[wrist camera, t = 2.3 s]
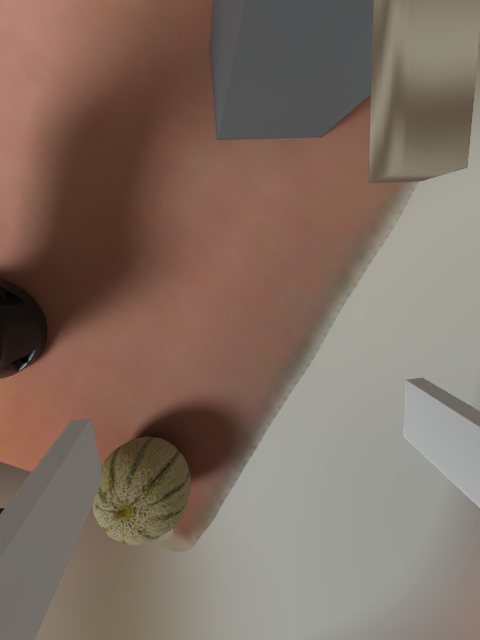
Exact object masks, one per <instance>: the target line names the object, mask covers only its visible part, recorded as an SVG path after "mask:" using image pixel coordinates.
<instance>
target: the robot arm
mask: <svg viewBox="0 0 480 640" xmlns="http://www.w3.org/2000/svg"><path fill="white" fill-rule="evenodd" d="M46 338H47V325H46V320H45V317H44V315H43V312H42V310H41V308H40V307H39V305H38V304H37V302H36V301H35V300H34V299H33V298H32V297H31V296H30V295H29V294H28V293H27V292H26V291H24V290H23V289H21V288H20V287H18V286H16V285H15V284H12V283H10V282H8V281H5V280H1V279H0V379H1V378H5V377H9V376H12V375H14V374H16V373H18V372H20V371H22V370H23V369H25V368H26V367H27V366H29V365H30V364H32V363H33V362H34V361H35V360H36V359H37V358H38V357H39V355H40V354H41V352H42V350H43V348H44V346H45V343H46ZM403 436H404V438H405V439H406V440H407V441H408V442H410V443H411V444H412V445H413V446H414V447H415V448H416V449H417V450H418V451H419V452H420V453H421V454H423V455H424V456H425V457H426V458H427V459H428V460H429V461H430V462H431V463H432V464H433V465H434V466H436V467H437V468H438V469H439V470H440V471H441V472H442V473H443V474H444V475H445V476H446V477H447V478H448V479H449V480H451V482H453V483H454V484H455V485H456V486H457V487H458V488H459V489H460V490H461V491H462V492H463V493H464V494H465V495H467V496H468V497H469V498H470V499H471V500H472V501H473V502H474V503H475V504H476V505H477V506H478V507H479V508H480V411H478V410H477V409H475V408H473V407H472V406H470V405H468V404H466V403H465V402H463V401H461V400H460V399H458V398H456V397H454V396H453V395H451V394H449V393H448V392H446V391H444V390H442V389H441V388H439V387H437V386H436V385H434V384H432V383H430V382H429V381H427V380H425V379H424V378H417V379H409V380H406V388H405V410H404V431H403ZM102 481H103V476H102V471H101V466H100V461H99V456H98V451H97V446H96V440H95V435H94V430H93V425H92V420H91V419H84V420H76V421H71V422H70V423H69V424H68V426H67V427H66V428H65V429H64V431H63V432H62V433H61V435H60V436H59V437H58V439H57V440H56V441H55V443H54V444H53V445H52V447H51V448H50V449H49V451H48V452H47V453H46V455H45V456H44V457H43V458H42V460H41V461H40V462H39V464H38V465H37V466H36V468H35V469H34V470H33V472H32V473H31V474H30V476H29V477H28V478H27V480H26V481H25V482H24V484H23V485H22V486H21V488H20V489H19V490H18V492H17V493H16V494H15V495H14V497H13V498H12V500H11V501H10V502H9V503H8V505H7V506H6V507H5V508H1V509H0V640H34V639H35V637H36V635H37V633H38V630H39V628H40V626H41V623H42V621H43V619H44V616H45V614H46V612H47V609H48V607H49V605H50V602H51V600H52V598H53V595H54V593H55V591H56V588H57V586H58V584H59V581H60V579H61V577H62V574H63V572H64V569H65V567H66V565H67V563H68V560H69V558H70V555H71V553H72V551H73V548H74V546H75V544H76V541H77V539H78V537H79V534H80V532H81V530H82V527H83V525H84V523H85V520H86V518H87V515H88V513H89V511H90V509H91V506H92V504H93V502H94V499H95V497H96V495H97V492H98V490H99V488H100V485H101V483H102Z"/></svg>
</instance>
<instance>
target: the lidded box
mask: <svg viewBox="0 0 480 640" xmlns="http://www.w3.org/2000/svg"><path fill="white" fill-rule="evenodd" d="M373 11H374V0H213V13H212V27H211V40H210V49H211V62H212V76H213V90H214V104H215V118H216V131H217V140H231V139H269V138H307V137H322V136H323V135H324V134H326V133H327V132H328V131H329V130H330V129H331V128H332V127H334V126H335V125H336V124H337V123H338V122H339V121H340V120H342V119H343V118H344V117H345V116H346V115H347V114H348V113H350V112H351V111H352V110H353V109H354V108H355V107H356V106H358V105H359V104H360V103H361V102H362V101H363V100H365V99H366V98H367V97H368V96H369V95H370V94H371V83H372V47H373Z"/></svg>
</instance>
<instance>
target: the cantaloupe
mask: <svg viewBox="0 0 480 640" xmlns="http://www.w3.org/2000/svg"><path fill="white" fill-rule="evenodd" d="M101 471H102V476H103V481H102V483H101V485H100V488H99V490H98V492H97V495H96V497H95V499H94V502H93V511H94V514H95V517H96V519H97V521H98V523H99V525H100V526H101V527H102V528H103V529H104V530H105V532H106V533H107V534H108V535H109V537H111V538H113V539H114V540H116V541H118V542H121V543H126V544H129V545H141V544H145V543H149V542H152V541H154V540H156V539H157V538H159V537H160V536H162V535H163V534H165V533H167V532H168V531H170V530H171V529H172V528H173V527H174V526H175V525H176V524H177V523H178V522H179V520H180V519H181V517H182V516H183V514H184V512H185V510H186V507H187V503H188V498H189V496H190V490H191V477H190V472H189V468H188V465H187V462H186V460H185V458H184V457H183V455H182V454H181V453H180V452H179V451H178V450H177V448H176V447H175V446H174V445H172V444H171V443H169V442H168V441H166V440H164V439H161V438H158V437H157V438H153V437H141V438H136V439H133V440H131V441H129V442H127V443H125V444H124V445H122V446H120V447H119V448H117V449H116V450H115V451H113V452H112V453H111V454H110V455H109V456H108V458H107V459H106V460H105V461H104V463H103V465H102V467H101Z"/></svg>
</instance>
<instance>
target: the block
mask: <svg viewBox="0 0 480 640" xmlns="http://www.w3.org/2000/svg"><path fill="white" fill-rule="evenodd" d="M479 36H480V0H374V11H373V47H372V83H371V120H370V156H369V183H388V182H411V181H423V180H427V179H430V178H433V177H437V176H440V175H444V174H447V173H450V172H454V171H457V170H461V169H464V168H467V166H468V154H469V144H470V134H471V123H472V112H473V102H474V91H475V80H476V69H477V59H478V47H479Z"/></svg>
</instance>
